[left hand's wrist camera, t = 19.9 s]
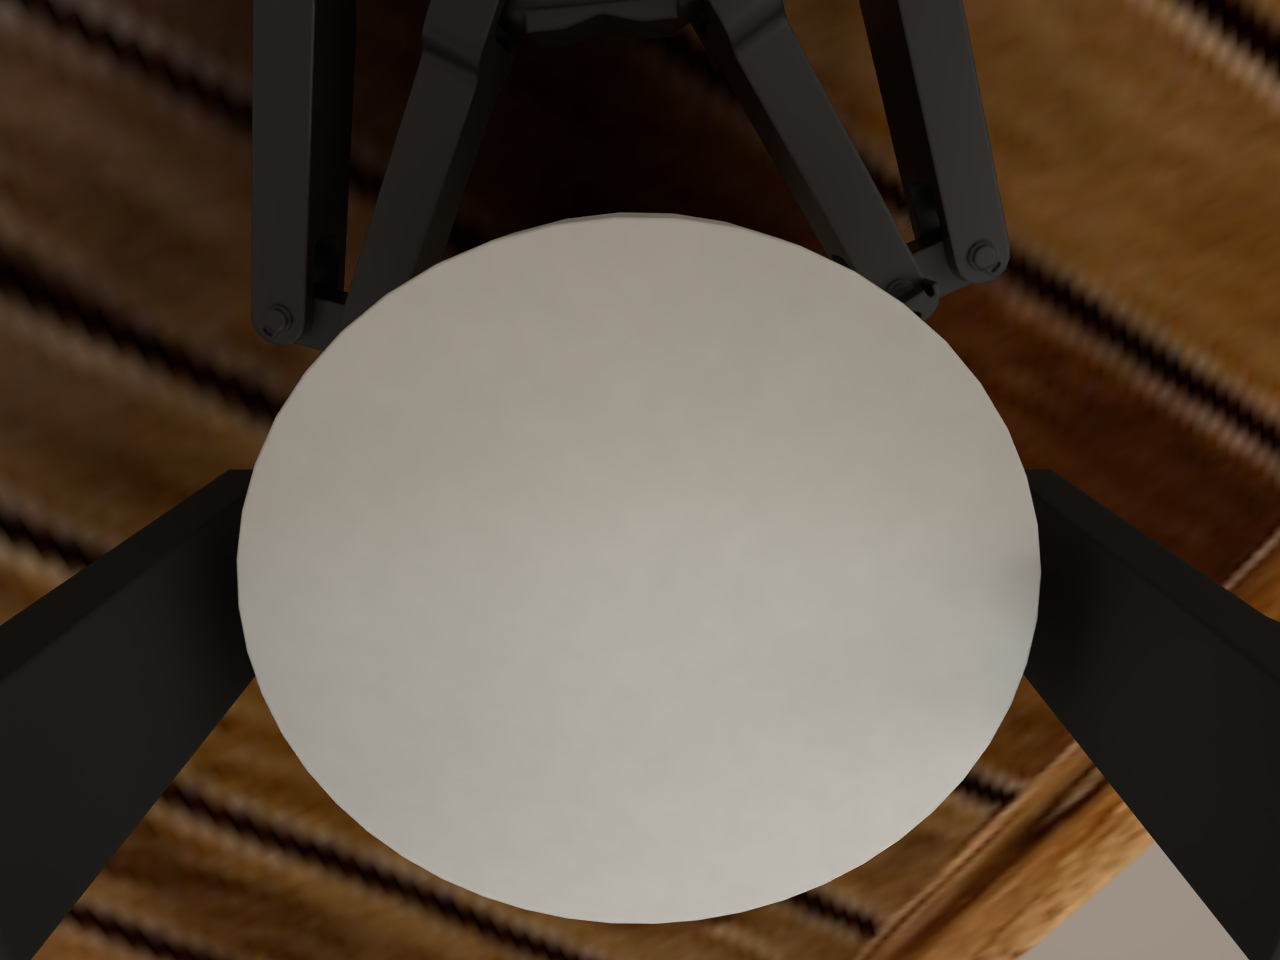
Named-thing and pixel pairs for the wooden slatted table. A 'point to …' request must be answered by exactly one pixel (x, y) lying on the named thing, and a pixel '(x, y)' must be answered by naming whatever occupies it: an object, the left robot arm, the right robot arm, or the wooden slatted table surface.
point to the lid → (638, 569)
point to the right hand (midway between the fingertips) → (653, 573)
